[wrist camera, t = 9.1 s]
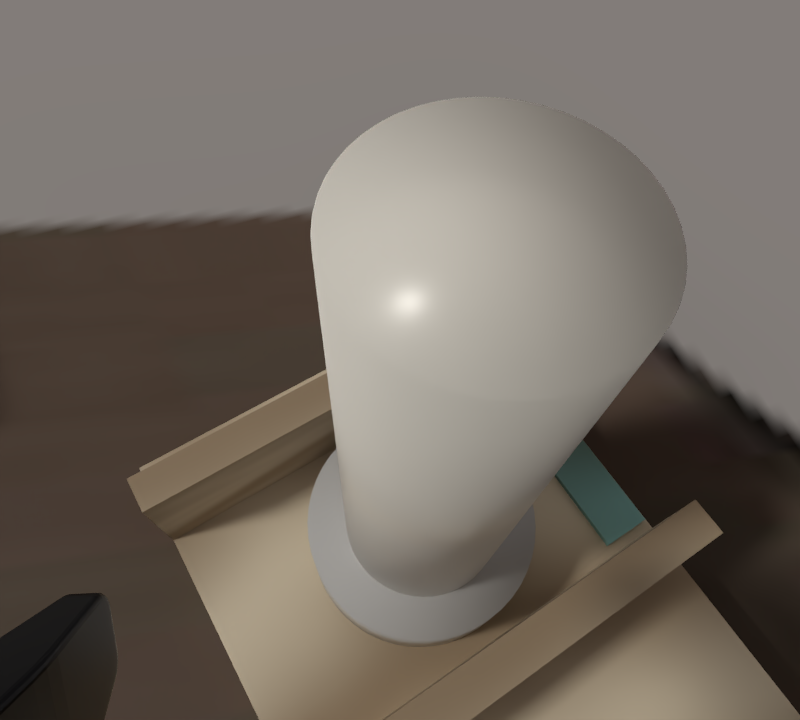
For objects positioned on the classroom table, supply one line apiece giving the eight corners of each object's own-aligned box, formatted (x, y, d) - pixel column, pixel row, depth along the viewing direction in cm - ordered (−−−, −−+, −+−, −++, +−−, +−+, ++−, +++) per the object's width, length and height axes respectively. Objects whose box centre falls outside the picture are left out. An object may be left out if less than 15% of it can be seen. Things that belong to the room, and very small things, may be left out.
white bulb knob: (534, 640, 18) (873, 491, 6) (312, 653, 18) (188, 523, 6) (506, 433, 21) (699, 39, 9) (313, 441, 21) (229, 41, 8)
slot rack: (919, 894, 17) (1063, 942, 13) (541, 1296, 14) (601, 1501, 10) (464, 309, 24) (480, 241, 21) (148, 478, 21) (104, 431, 18)
